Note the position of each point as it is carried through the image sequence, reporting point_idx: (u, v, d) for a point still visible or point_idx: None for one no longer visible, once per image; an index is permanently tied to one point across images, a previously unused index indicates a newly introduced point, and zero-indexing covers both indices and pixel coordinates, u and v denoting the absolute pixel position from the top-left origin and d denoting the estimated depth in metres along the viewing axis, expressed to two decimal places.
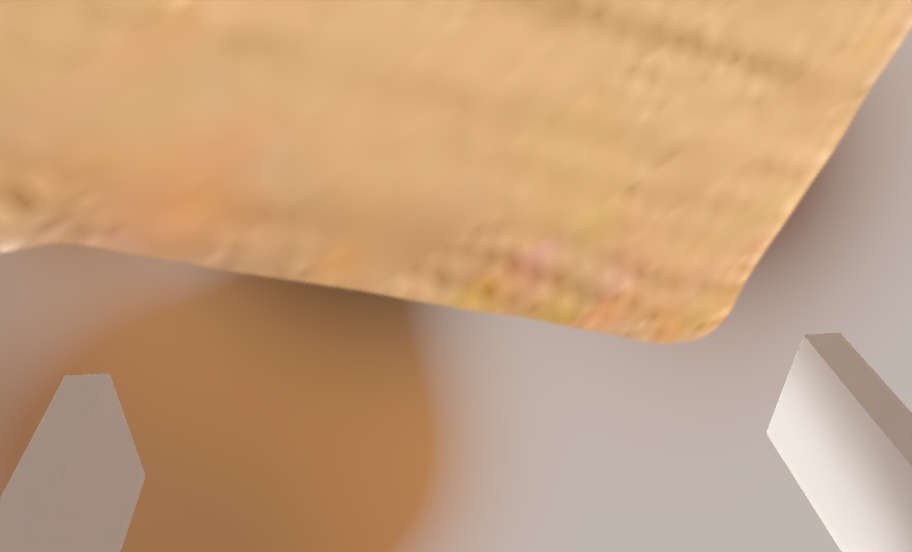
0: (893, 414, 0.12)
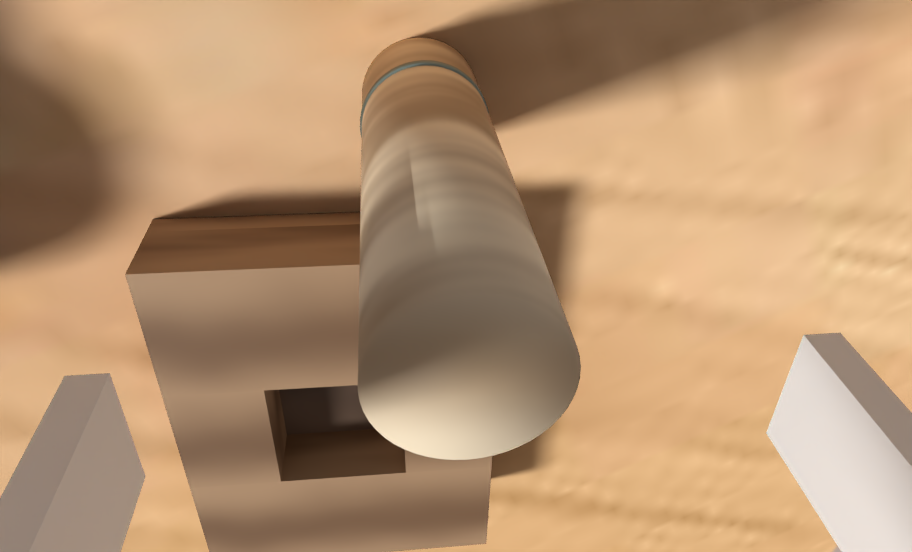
0: (893, 414, 0.12)
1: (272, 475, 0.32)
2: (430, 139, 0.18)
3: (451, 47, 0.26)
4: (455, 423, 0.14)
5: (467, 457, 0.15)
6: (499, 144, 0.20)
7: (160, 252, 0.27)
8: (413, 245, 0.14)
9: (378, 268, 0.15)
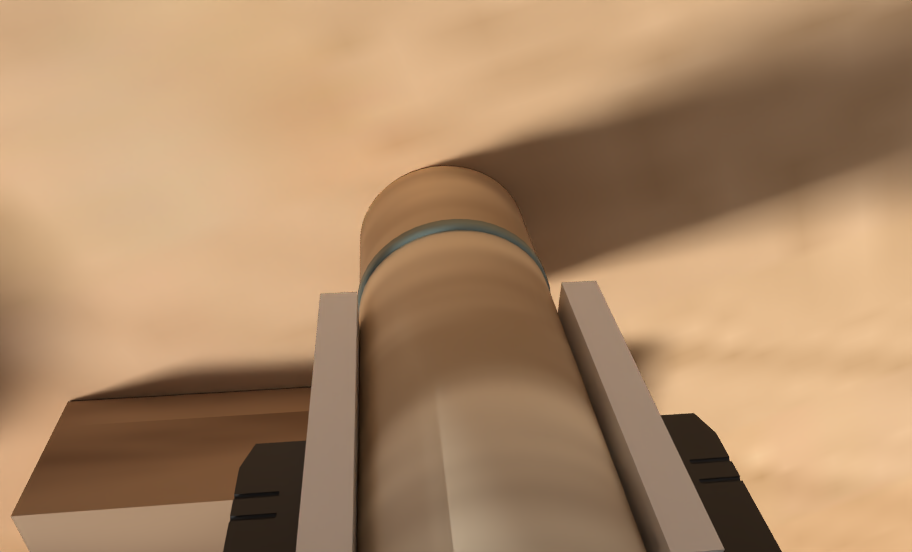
0: (610, 347, 0.13)
1: None
2: (481, 441, 0.10)
3: (489, 178, 0.18)
4: None
5: None
6: (585, 391, 0.12)
7: (68, 468, 0.18)
8: None
9: None
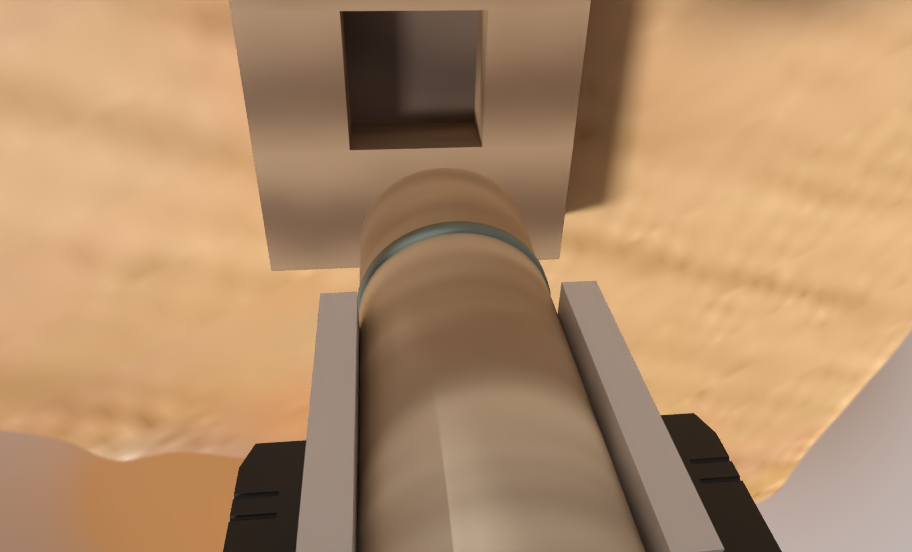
0: (610, 346, 0.13)
1: (341, 140, 0.30)
2: (481, 444, 0.10)
3: (489, 180, 0.18)
4: None
5: None
6: (585, 394, 0.12)
7: None
8: None
9: None
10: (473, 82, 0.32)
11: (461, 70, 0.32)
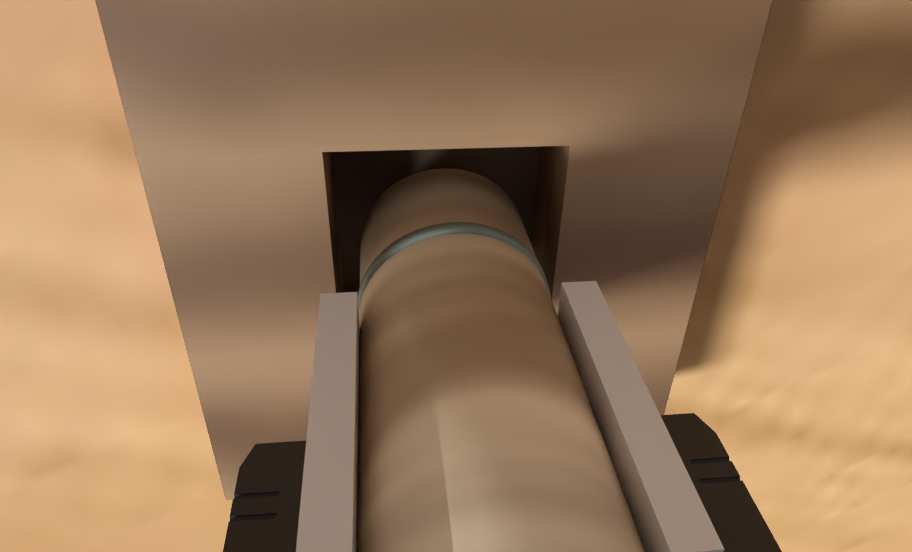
0: (610, 346, 0.13)
1: None
2: (481, 445, 0.10)
3: (489, 181, 0.18)
4: None
5: None
6: (585, 394, 0.12)
7: None
8: None
9: None
10: (529, 226, 0.21)
11: None
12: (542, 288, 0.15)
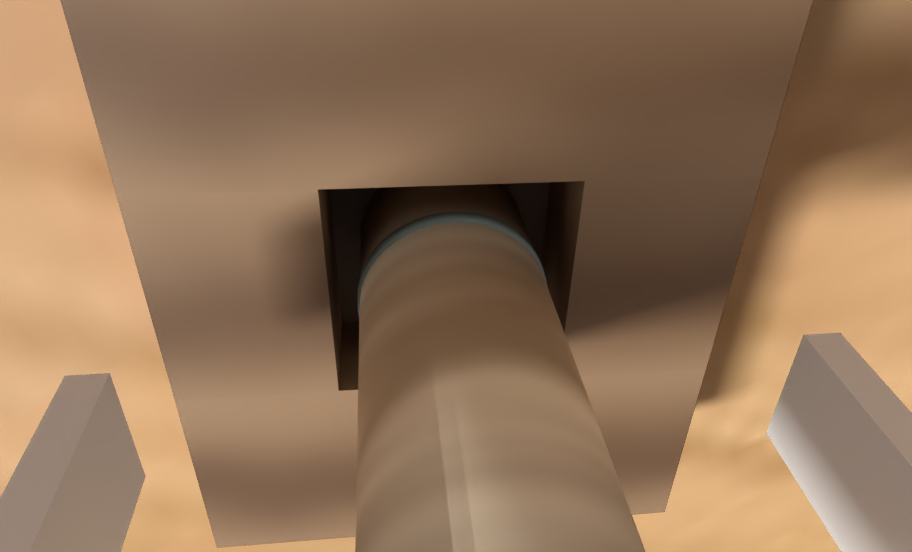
0: (893, 414, 0.12)
1: (324, 378, 0.18)
2: (476, 422, 0.10)
3: None
4: None
5: None
6: (579, 377, 0.13)
7: None
8: None
9: None
10: None
11: None
12: (538, 276, 0.15)
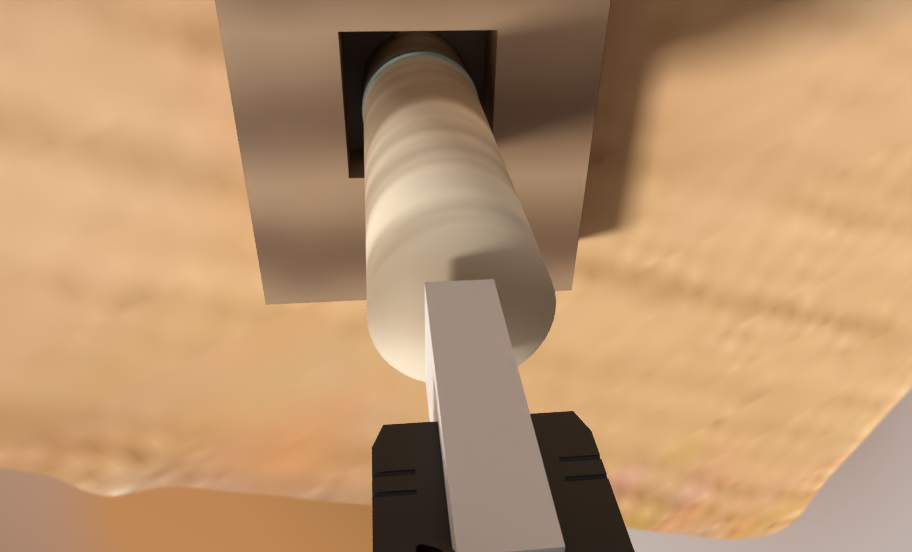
0: (494, 344, 0.13)
1: (339, 168, 0.28)
2: (426, 115, 0.21)
3: (444, 39, 0.28)
4: None
5: None
6: (487, 123, 0.23)
7: None
8: (414, 198, 0.17)
9: (383, 220, 0.17)
10: None
11: None
12: (470, 85, 0.25)
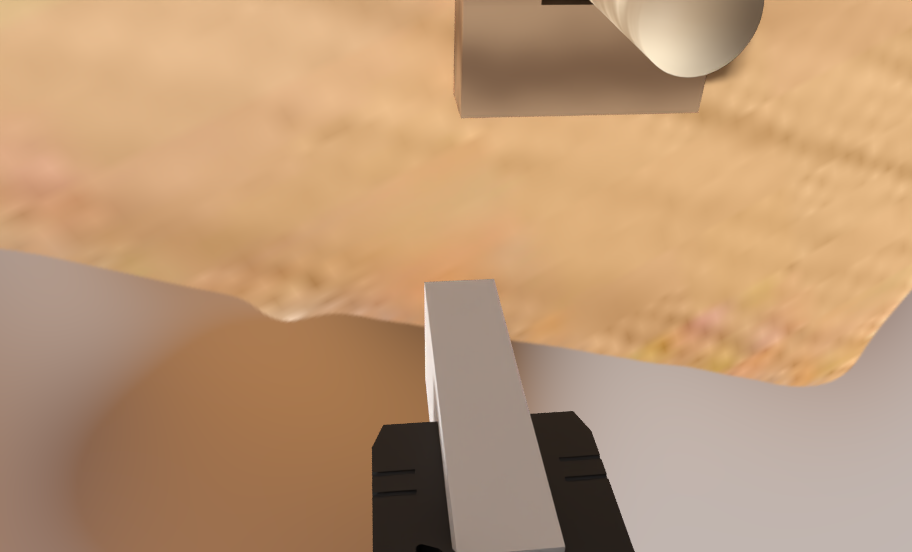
0: (494, 344, 0.13)
1: None
2: None
3: None
4: (687, 46, 0.25)
5: (687, 76, 0.26)
6: None
7: None
8: None
9: None
10: None
11: None
12: None
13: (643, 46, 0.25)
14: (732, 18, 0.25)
